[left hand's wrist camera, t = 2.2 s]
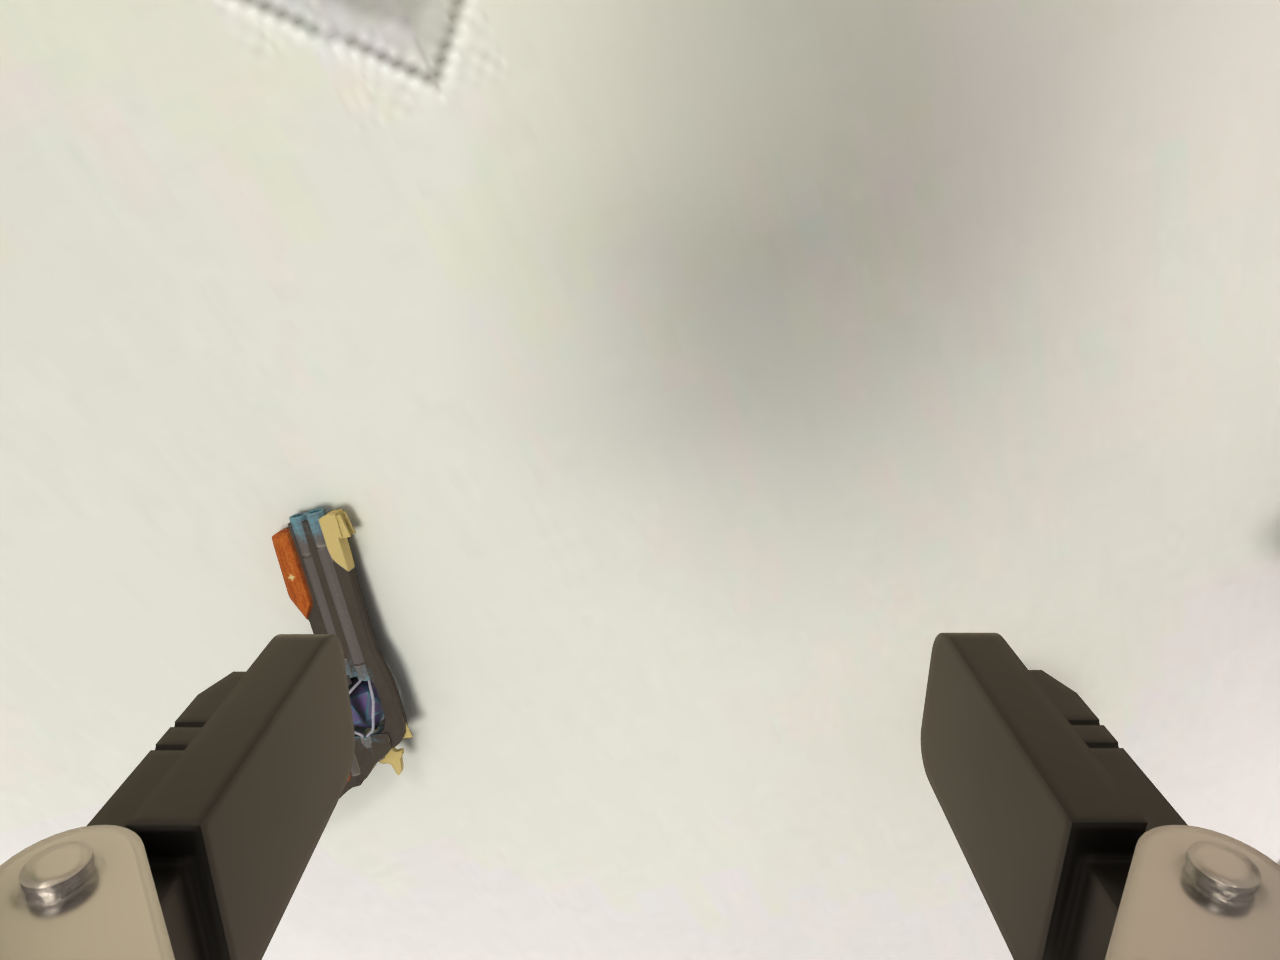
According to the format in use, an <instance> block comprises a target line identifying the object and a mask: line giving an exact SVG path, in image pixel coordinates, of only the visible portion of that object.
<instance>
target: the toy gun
mask: <svg viewBox="0 0 1280 960" xmlns="http://www.w3.org/2000/svg"><path fill="white" fill-rule="evenodd" d="M289 519H290V523H289V524H288V526H289V528H287V529H283V530H281V531H279V532H278V533H276V534H275V535H274V536H272V540H273V544H274V548H275V551H276V554H277V558H278V561H279V564H280V568H281V571H282V574H283V578H284V581H285V584H286V588H287V591H288V594H289V597H290V598H291V600H292V601H293V602H294V604H295V605H296V606H297V607H298V609H299V610H300V611H301V612H302V614H303V615H304V616H305V617H306V619H308V620H309V621H310V624H311V627H312V630H313V633H314V634H334V635H336V636H338V638H339V639H340V641H341V644H342V647H343V652H344V659H345V666H346V673H347V681H348V688H349V695H350V702H351V709H352V717H353V724H354V726H360V727H357V728H354V732H355V749H354V758H353V764H352V768H351V772H350V775H349V778H348V781H347V783H346V785H345V787H344V789H343V791H342V793H341V796H342V795H344V794H345V793H346V792H347V791H348V790H349V789H351V788H352V787H355V786H359V785H361V784H362V782H363V781H364V779H366V778H367V776H368V775H369V774H370V772H371V771H372V769H373V768H374V766H375V765H376V763H377V762H380V763H389V764H391V765H392V766H393V768H394V770H395V771H396V773H397V774H398V775H399V774H400V773H401V772H402V770H403V759H402V755H403V753H404V749H403V748H401V749H396V748H395V746H396V745H398V744H399V743H400V741H401V740H402V739H403V738H411V737H413V736H412V734H411V732H410V730H409V728H408V726H407V719H406V715H405V712H404V709H403V706H402V702H401V699H400V696H399V692H398V689H397V686H396V683H395V681H394V678H393V676H392V673H391V671H390V669H389V667H388V665H387V663H386V661H385V659H384V658H383V656H382V654H381V652H380V650H379V648H378V646H377V643H376V640H375V637H374V634H373V630H372V627H371V624H370V621H369V617H368V614H367V611H366V607H365V604H364V600H363V597H362V593H361V590H360V586H359V583H358V579H357V575H356V571H355V564H354V561H353V557H352V553H351V550H350V546H349V542H348V539H347V537H351V534H355V533H356V532H355V530H354V527H353V525H352V523H351V521H350V519H349V517H348V515H347V513H346V511H343V509H336V510H332V511H330V512H328V513H327V514H326V513H325V510H324V508H318V509H313V510H310V511H308V512H303V513H298V514H295V515H292V516H291V517H289ZM383 719H385V725H379V723H380V722H381V721H382V720H383ZM341 796H340V797H341Z"/></svg>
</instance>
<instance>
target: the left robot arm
mask: <svg viewBox="0 0 1280 960" xmlns="http://www.w3.org/2000/svg"><path fill="white" fill-rule="evenodd" d="M354 749H355V732H354V724H353V717H352V709H351V702H350V695H349V688H348V681H347V673H346V666H345V659H344V652H343V647H342V644H341V641H340V639H339V638H338V636H336V635H334V634H280V635H277V636H275V637H274V638H273V639H272V640H271V641H270V643H269V644H268V645H267V646H266V648H265V649H264V650H263V651H262V653H261V654H260V655H259V656H258V658H257V659H256V660H255V661H254V663H253V664H252V665H251V667H250V668H249V669H248V670H247V672H232V673H231V674H229V675H228V676H226V677H225V678H223V679H222V680H220V681H218V682H217V683H215V684H214V685H212V686H211V687H209V688H208V689H206V690H205V691H203V692H202V693H200V694H199V695H197V697H196V698H195V699H194V700H193V701H192V702H191V704H190V705H189V706H188V707H187V708H186V710H185V711H184V712H183V713H182V714H181V715H180V717H179V718H178V719H177V720H176V721H175V727H170V728H169V730H168V731H167V732H166V733H165V734H164V735H163V737H162V738H161V739H160V740H159V741H158V743H157V744H156V749H155V750H151V751H150V752H149V753H148V754H147V755H146V757H145V758H144V759H143V760H142V761H141V763H140V764H139V765H138V766H137V767H136V768H135V770H134V771H133V772H132V773H131V774H130V776H129V777H128V778H127V779H126V780H125V781H124V783H123V784H122V785H121V786H120V787H119V788H118V790H117V791H116V792H115V793H114V794H113V796H112V797H111V798H110V799H109V800H108V801H107V803H106V804H105V805H104V806H103V807H102V809H101V810H100V811H99V812H98V813H97V814H96V816H95V817H94V818H93V819H92V820H91V821H90V823H89V824H88V825H87V826H86V827H80V828H76V829H72V830H68V831H65V832H62V833H59V834H56V835H53V836H51V837H48V838H46V839H44V840H41V841H39V842H37V843H35V844H33V845H31V846H29V847H27V848H26V849H24V850H22V851H21V852H19V853H18V854H16V855H14V856H13V857H11V858H10V859H9V860H7V861H6V862H5V863H3V864H2V865H1V866H0V960H261V959H262V957H263V955H264V953H265V951H266V949H267V947H268V945H269V943H270V941H271V939H272V937H273V935H274V933H275V930H276V928H277V926H278V924H279V922H280V920H281V918H282V916H283V914H284V912H285V910H286V908H287V906H288V903H289V901H290V899H291V897H292V895H293V893H294V891H295V889H296V887H297V885H298V883H299V881H300V879H301V876H302V874H303V872H304V870H305V868H306V866H307V864H308V862H309V860H310V858H311V856H312V854H313V852H314V850H315V847H316V845H317V843H318V841H319V839H320V837H321V835H322V833H323V831H324V829H325V827H326V825H327V823H328V820H329V818H330V816H331V814H332V812H333V810H334V808H335V806H336V804H337V802H338V800H339V798H340V796H341V793H342V791H343V789H344V787H345V785H346V783H347V781H348V778H349V775H350V772H351V768H352V764H353V758H354ZM921 751H922V759H923V764H924V768H925V772H926V775H927V778H928V780H929V782H930V784H931V786H932V788H933V791H934V793H935V795H936V797H937V799H938V801H939V803H940V805H941V807H942V809H943V812H944V814H945V816H946V818H947V820H948V822H949V824H950V826H951V828H952V831H953V833H954V835H955V837H956V839H957V841H958V843H959V845H960V847H961V849H962V852H963V854H964V856H965V858H966V860H967V862H968V864H969V866H970V868H971V870H972V873H973V875H974V877H975V879H976V881H977V883H978V885H979V887H980V889H981V891H982V894H983V896H984V898H985V900H986V902H987V904H988V906H989V908H990V910H991V912H992V915H993V917H994V919H995V921H996V923H997V925H998V927H999V929H1000V931H1001V933H1002V936H1003V938H1004V940H1005V942H1006V944H1007V946H1008V948H1009V950H1010V952H1011V954H1012V957H1013V959H1014V960H1280V866H1279V865H1278V864H1277V863H1275V862H1274V861H1273V860H1271V859H1270V858H1269V857H1267V856H1266V855H1264V854H1262V853H1261V852H1259V851H1258V850H1256V849H1254V848H1253V847H1251V846H1249V845H1247V844H1245V843H1243V842H1241V841H1239V840H1236V839H1234V838H1232V837H1229V836H1227V835H1224V834H1221V833H1218V832H1215V831H1212V830H1208V829H1204V828H1200V827H1194V826H1188V825H1187V824H1186V823H1185V821H1184V820H1183V819H1182V818H1181V817H1180V815H1179V814H1178V813H1177V812H1176V811H1175V810H1174V808H1173V807H1172V806H1171V805H1170V804H1169V802H1168V801H1167V800H1166V799H1165V798H1164V796H1163V795H1162V794H1161V793H1160V792H1159V791H1158V789H1157V788H1156V787H1155V786H1154V785H1153V783H1152V782H1151V781H1150V780H1149V779H1148V777H1147V776H1146V775H1145V774H1144V773H1143V771H1142V770H1141V769H1140V768H1139V767H1138V766H1137V764H1136V763H1135V762H1134V761H1133V760H1132V758H1131V757H1130V756H1129V755H1128V754H1127V752H1126V751H1125V750H1124V749H1123V748H1119V747H1118V742H1117V741H1116V739H1115V738H1114V737H1113V736H1112V735H1111V733H1110V732H1109V731H1108V730H1107V729H1106V727H1105V726H1104V725H1100V724H1099V719H1098V718H1097V717H1096V716H1095V714H1094V713H1093V712H1092V711H1091V710H1090V708H1089V707H1088V706H1087V705H1086V704H1085V703H1084V701H1083V700H1082V699H1081V698H1080V697H1079V695H1078V694H1077V693H1076V692H1074V691H1073V690H1071V689H1070V688H1068V687H1066V686H1065V685H1063V684H1062V683H1060V682H1059V681H1057V680H1056V679H1054V678H1053V677H1051V676H1050V675H1048V674H1047V673H1045V672H1044V671H1042V670H1028V669H1027V668H1026V667H1025V665H1024V664H1023V663H1022V661H1021V660H1020V659H1019V658H1018V656H1017V655H1016V654H1015V653H1014V651H1013V650H1012V649H1011V647H1010V646H1009V645H1008V644H1007V642H1006V641H1005V640H1004V638H1003V637H1002V636H1001V635H999V634H997V633H940V634H939V635H937V637H936V639H935V641H934V644H933V648H932V654H931V662H930V669H929V676H928V683H927V691H926V698H925V705H924V713H923V720H922V728H921Z"/></svg>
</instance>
